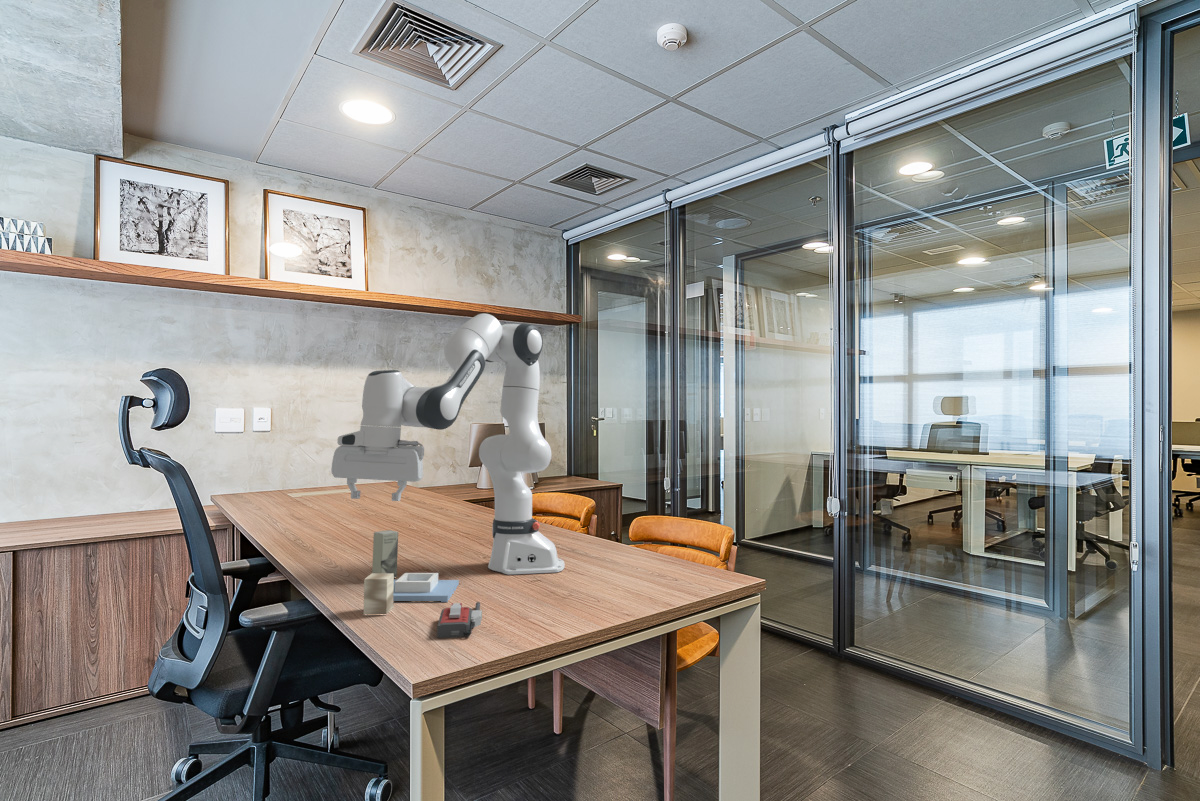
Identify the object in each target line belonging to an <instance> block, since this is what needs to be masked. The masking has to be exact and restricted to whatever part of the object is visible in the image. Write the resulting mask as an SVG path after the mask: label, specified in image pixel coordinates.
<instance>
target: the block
mask: <svg viewBox="0 0 1200 801" xmlns="http://www.w3.org/2000/svg"><path fill="white" fill-rule="evenodd" d="M394 580H395V579H394V573H372V572H371V573H370V574H369V575H367V577H365V578H364V581H363V615H364V614H387V613H388V612H389V611H390V610H391V609H392V608H393V609H394V602H393V589H394ZM393 609H392V610H393ZM392 610H391V611H392ZM391 611H390V612H391ZM390 612H389V613H390ZM389 613H388V614H389ZM388 614H387V615H388Z"/></svg>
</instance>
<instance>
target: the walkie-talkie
mask: <svg viewBox="0 0 1200 801" xmlns="http://www.w3.org/2000/svg"><path fill="white" fill-rule="evenodd" d="M439 615H440V616H439V619H438V623H437V628H436V638H438V639H451V638H453V639H454V638H456V639H457V638H467V637H470V635H472V631H473V629H474V628H476V627H478V626H480V625H481V623H482V618H483V610H482V609H481V602H479V601H476V603H475V609H473V608H471V607H468V606H463V603H462V602H456V603H454V602H452V603H451V604H450V607H445V608H443V609H441V612H440V614H439Z"/></svg>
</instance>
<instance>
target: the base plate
mask: <svg viewBox="0 0 1200 801" xmlns="http://www.w3.org/2000/svg"><path fill="white" fill-rule="evenodd" d="M459 583H460V580H459V579H439V572H405V573H403V574H402V575H401V576H400V577H399V578H397V579H394V589H393V601H441V602H440V603H448V602H449V601H450V599H451V598H452V596H453V595H454V593H455V592H456V591H457V589H458V588H457V586H458V585H459V586H460V584H459ZM459 586H458V587H459ZM456 588H457V589H456ZM454 591H455V592H454ZM452 594H453V595H452ZM450 597H451V598H450ZM448 600H449V601H448Z"/></svg>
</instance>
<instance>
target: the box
mask: <svg viewBox="0 0 1200 801" xmlns="http://www.w3.org/2000/svg"><path fill="white" fill-rule="evenodd" d="M372 541H373V542H372V543H373V545H372V569H371V574H372V573H394V578H395V577H398V576H397V574H398V552H399V549H398V548H399V531H396V530H391V529H388V530H380V531H374V532H373V540H372Z"/></svg>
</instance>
